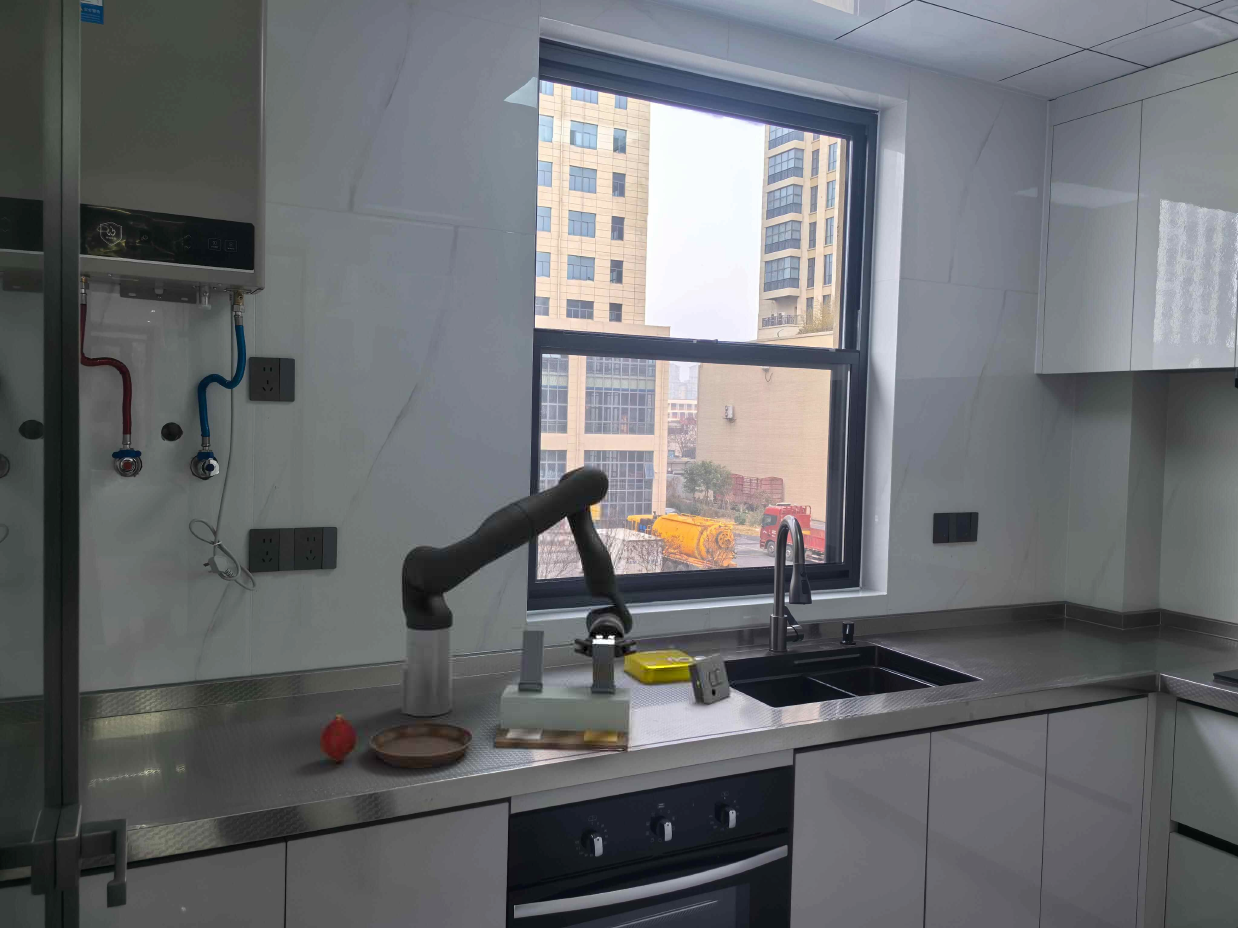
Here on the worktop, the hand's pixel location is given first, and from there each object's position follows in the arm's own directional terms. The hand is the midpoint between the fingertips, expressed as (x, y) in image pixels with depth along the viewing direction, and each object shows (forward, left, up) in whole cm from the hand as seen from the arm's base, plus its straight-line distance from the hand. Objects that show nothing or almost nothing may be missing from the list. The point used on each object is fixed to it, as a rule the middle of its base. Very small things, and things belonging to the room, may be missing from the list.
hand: (603, 656), depth 162 cm
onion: (-44, -18, -15) cm, 50 cm away
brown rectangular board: (-7, 0, -15) cm, 16 cm away
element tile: (+12, +44, -15) cm, 48 cm away
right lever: (0, +2, -7) cm, 7 cm away
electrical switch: (+22, +25, -15) cm, 36 cm away
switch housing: (-7, +2, -14) cm, 15 cm away
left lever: (-14, +2, -7) cm, 16 cm away
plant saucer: (-31, -13, -15) cm, 37 cm away
